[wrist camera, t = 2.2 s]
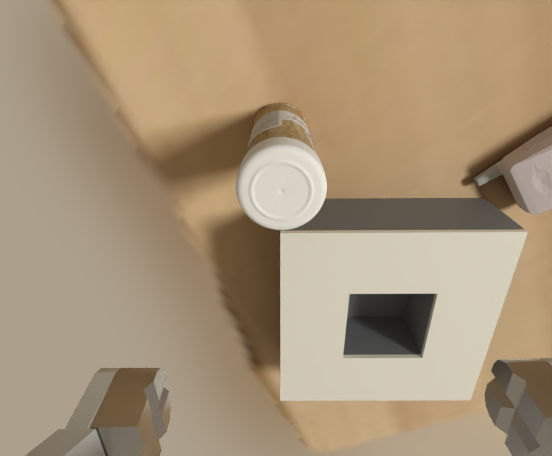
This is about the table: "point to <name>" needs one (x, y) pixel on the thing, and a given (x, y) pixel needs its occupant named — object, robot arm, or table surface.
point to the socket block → (393, 298)
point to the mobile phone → (527, 173)
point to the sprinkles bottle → (281, 171)
